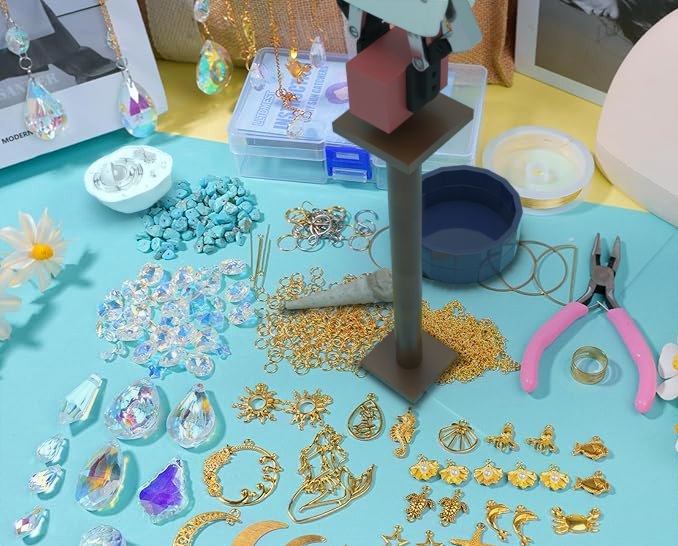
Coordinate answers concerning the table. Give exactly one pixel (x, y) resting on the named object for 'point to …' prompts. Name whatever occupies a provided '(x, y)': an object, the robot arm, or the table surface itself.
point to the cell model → (130, 178)
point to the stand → (407, 239)
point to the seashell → (351, 292)
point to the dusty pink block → (383, 80)
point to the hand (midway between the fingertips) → (399, 87)
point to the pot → (468, 224)
